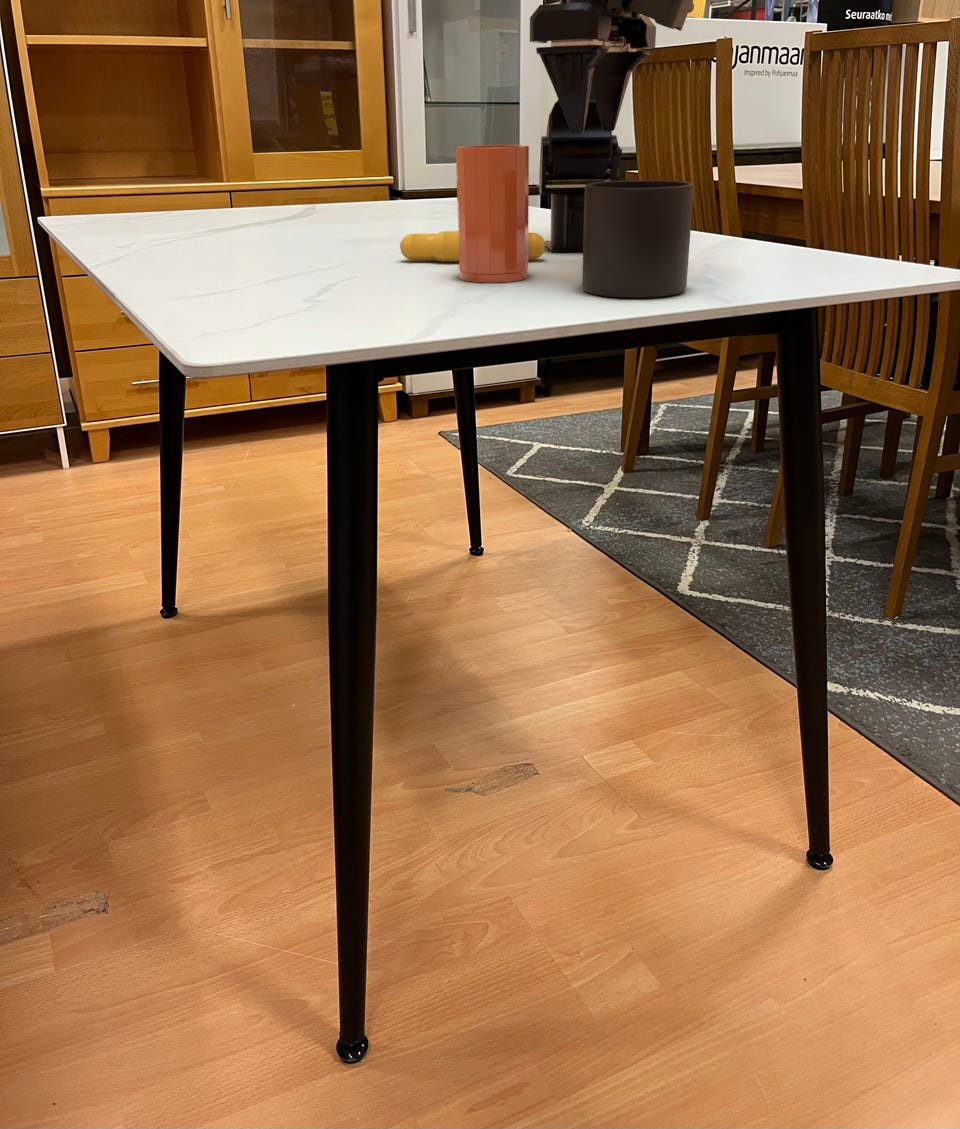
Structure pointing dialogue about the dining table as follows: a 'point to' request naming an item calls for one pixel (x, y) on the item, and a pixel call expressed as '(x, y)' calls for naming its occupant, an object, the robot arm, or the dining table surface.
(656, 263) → the mug
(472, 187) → the pot
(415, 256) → the yellow ridged dog toy
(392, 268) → the dining table surface
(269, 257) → the dining table surface
